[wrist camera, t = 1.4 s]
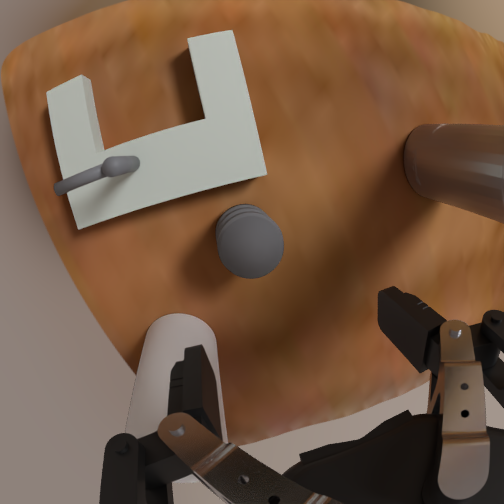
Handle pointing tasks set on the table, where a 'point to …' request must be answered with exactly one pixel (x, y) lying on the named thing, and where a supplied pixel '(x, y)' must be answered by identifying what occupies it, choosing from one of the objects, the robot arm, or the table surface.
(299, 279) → the table surface
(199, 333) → the cup
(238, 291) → the table surface
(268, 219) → the grooved grey cylinder
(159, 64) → the table surface
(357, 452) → the robot arm
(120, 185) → the board
